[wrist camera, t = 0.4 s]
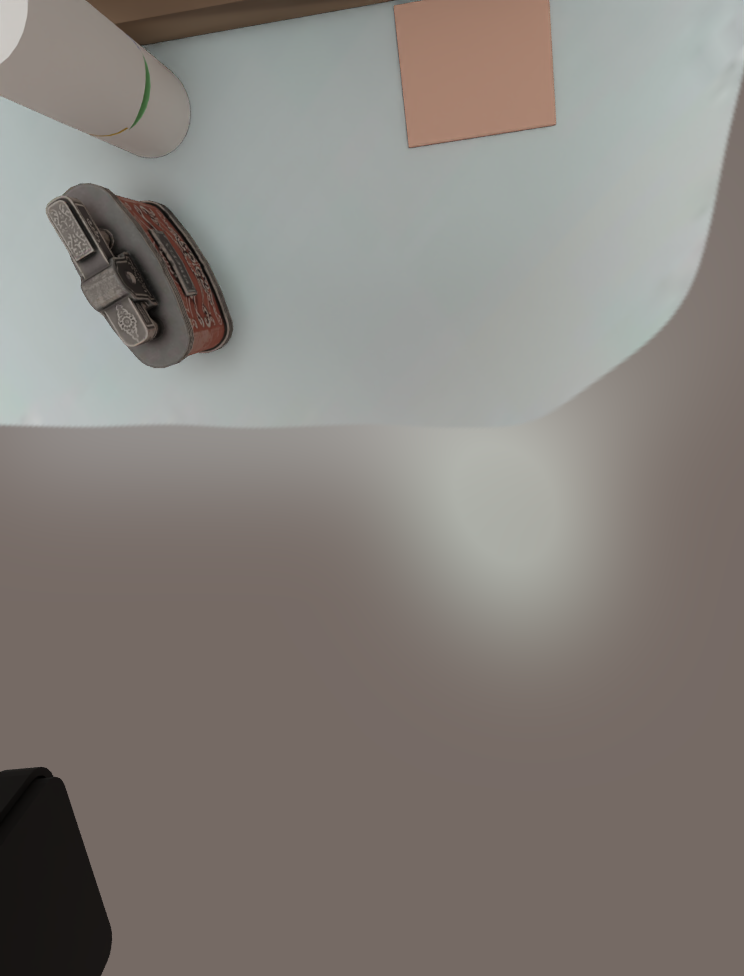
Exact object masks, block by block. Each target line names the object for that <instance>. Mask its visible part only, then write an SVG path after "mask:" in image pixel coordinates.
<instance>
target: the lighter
mask: <svg viewBox="0 0 744 976" xmlns="http://www.w3.org/2000/svg"><path fill="white" fill-rule="evenodd" d="M46 214H47V216H48V218H49V220H50V222H51V224H52V225H53V227H54V229H55V230H56V232H57V234H58V235H59V237H60V239H61V240H62V242H63V244H64V245H65V247H66V249H67V250H68V252H69V254H70V257H71V260H72V262H73V264H74V266H75V268H76V270H77V272H78V274H79V275H80V277H81V282H82V283H81V288H82V291H83V293H84V295H85V297H86V298H87V300H88V302H89V303H90V304H91V306H92V307H93V308H94V309H95V310H97V311H98V312H100V313H101V314H102V315H103V316H104V317H105V319H106V320H107V322H108V323H109V324H110V326H111V327H112V329H113V330H114V332H115V333H116V334H117V335H118V336H119V337H120V339H121V340H122V341H123V343H124V344H125V345H126V346H127V347H128V348H129V349H130V350H131V351H132V352H133V354H134V355H135V356H136V357H137V358H138V359H139V360H140V361H141V362H142V363H144V364H145V365H147V366H150V367H153V368H165V367H168V366H171V365H174V364H177V363H180V362H181V361H182V360H183V359H185V358H186V357H187V356H189V355H192V354H195V353H198V352H199V353H209V352H212V351H215V350H217V349H220V348H222V347H223V346H224V345H225V344H227V343H228V341H229V339H230V338H231V336H232V332H233V324H232V319H231V316H230V314H229V311H228V308H227V305H226V302H225V299H224V296H223V293H222V291H221V289H220V287H219V285H218V282H217V280H216V278H215V276H214V274H213V272H212V270H211V268H210V266H209V263H208V262H207V260H206V259H205V257H204V256H203V254H202V252H201V251H200V249H199V248H198V246H197V245H196V243H195V242H194V240H193V238H192V237H191V235H190V234H189V233H188V232H187V230H186V229H185V228H184V227H183V225H182V224H181V223H180V222H179V221H178V219H177V218H176V217H175V216H174V214H173V213H172V212H171V211H170V210H169V209H168V208H167V207H166V206H164V205H162V204H159V203H156V202H153V201H140V202H138V201H135V200H131V199H128V198H124V197H120V196H117V195H115V194H114V193H113V192H111V191H110V190H109V189H107V188H104V187H101V186H98V185H95V184H91V183H86V184H78V185H76V186H73V187H71V188H70V189H68V190H67V191H66V192H65V193H64V194H63V195H62V196H59V197H56V198H55V199H53V200H52V201H50V202H49V203H48V204H47V207H46Z"/></svg>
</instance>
